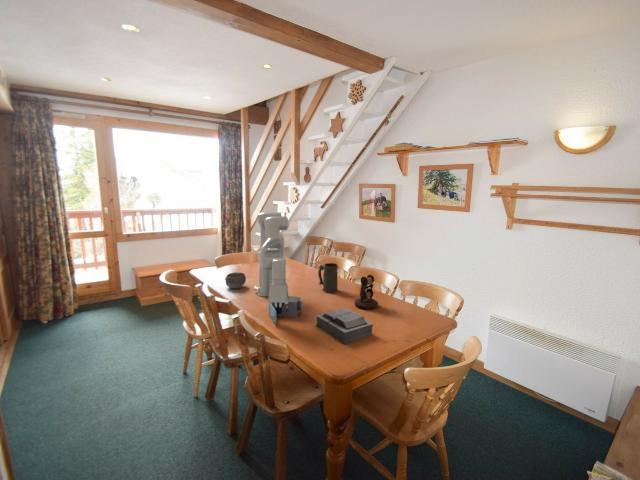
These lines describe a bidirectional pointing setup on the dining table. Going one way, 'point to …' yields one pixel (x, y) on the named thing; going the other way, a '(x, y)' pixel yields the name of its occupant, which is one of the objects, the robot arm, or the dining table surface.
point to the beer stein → (329, 277)
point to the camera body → (291, 307)
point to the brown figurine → (366, 293)
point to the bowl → (235, 280)
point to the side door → (272, 312)
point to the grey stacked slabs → (344, 325)
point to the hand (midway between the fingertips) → (278, 313)
